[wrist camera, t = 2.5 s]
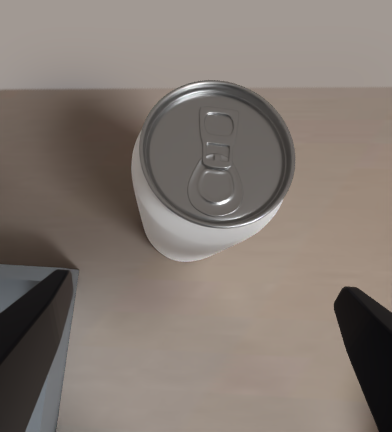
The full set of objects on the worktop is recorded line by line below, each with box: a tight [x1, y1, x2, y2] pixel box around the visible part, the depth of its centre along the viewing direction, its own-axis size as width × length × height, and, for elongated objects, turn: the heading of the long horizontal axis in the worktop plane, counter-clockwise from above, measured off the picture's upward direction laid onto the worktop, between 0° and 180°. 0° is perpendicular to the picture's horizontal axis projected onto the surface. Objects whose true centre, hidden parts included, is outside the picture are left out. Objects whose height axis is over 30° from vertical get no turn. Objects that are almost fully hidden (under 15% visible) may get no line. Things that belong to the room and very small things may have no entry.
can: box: [131, 80, 295, 262], centre depth 16 cm, size 6×6×12 cm
